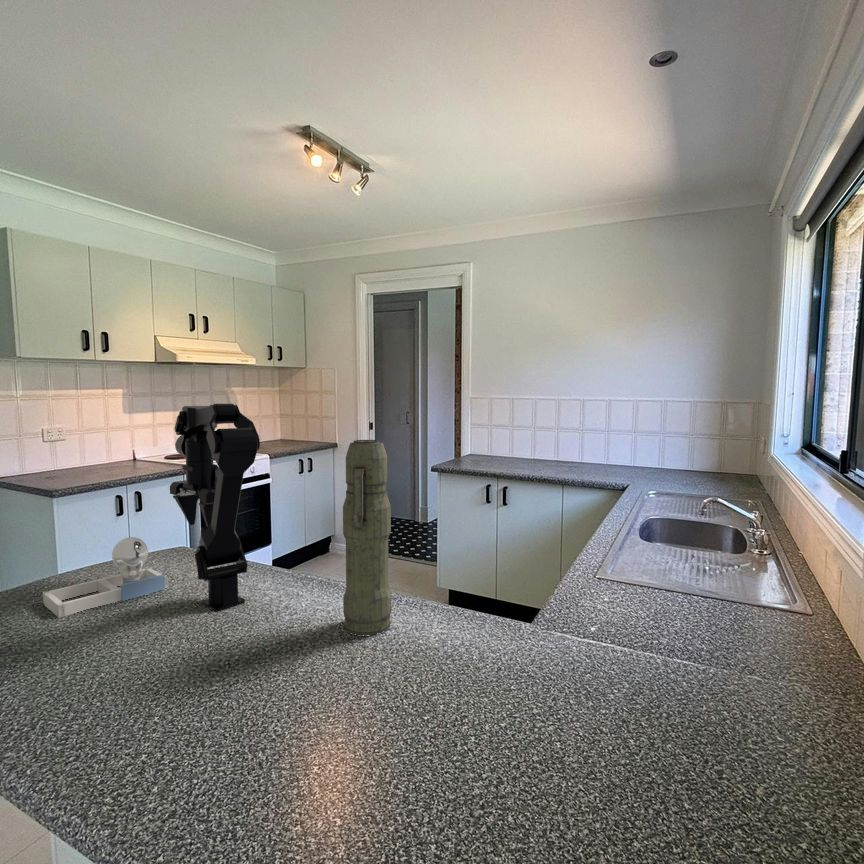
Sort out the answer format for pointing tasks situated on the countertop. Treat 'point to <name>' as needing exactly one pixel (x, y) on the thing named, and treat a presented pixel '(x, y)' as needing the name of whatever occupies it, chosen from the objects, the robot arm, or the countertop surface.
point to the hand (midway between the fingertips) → (201, 527)
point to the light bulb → (130, 558)
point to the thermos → (366, 539)
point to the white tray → (102, 592)
